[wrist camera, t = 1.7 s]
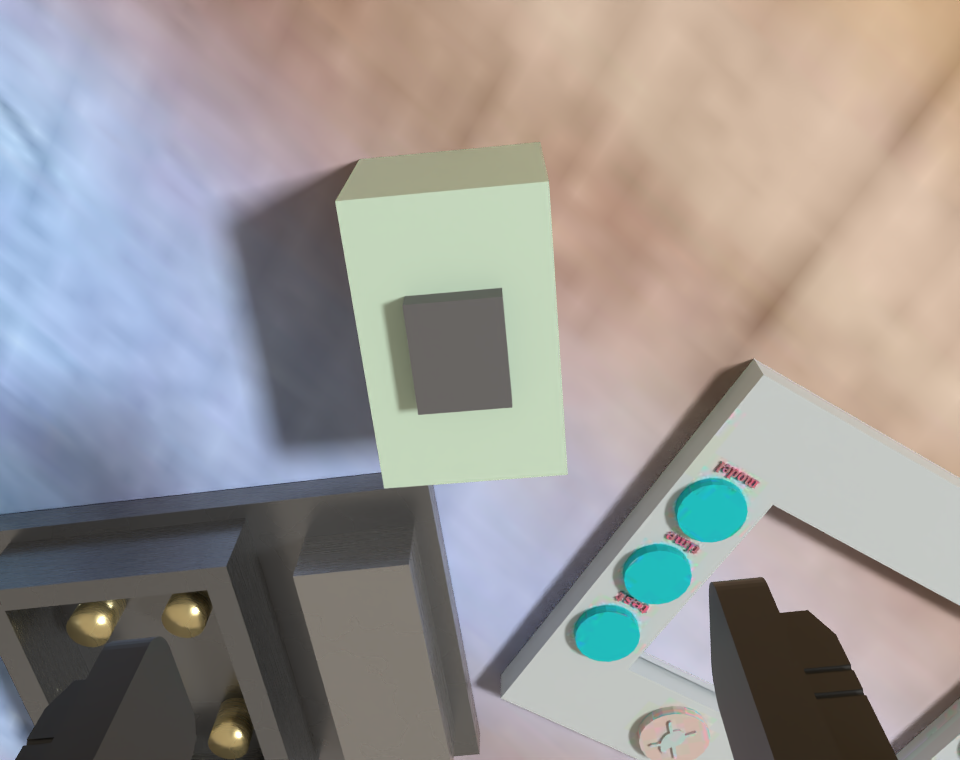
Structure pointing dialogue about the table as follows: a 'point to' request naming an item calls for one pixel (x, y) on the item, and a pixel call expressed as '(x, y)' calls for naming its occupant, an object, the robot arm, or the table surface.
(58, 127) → the table surface
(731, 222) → the table surface
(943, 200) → the table surface
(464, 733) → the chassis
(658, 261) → the table surface
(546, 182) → the module
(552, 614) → the electronic device
